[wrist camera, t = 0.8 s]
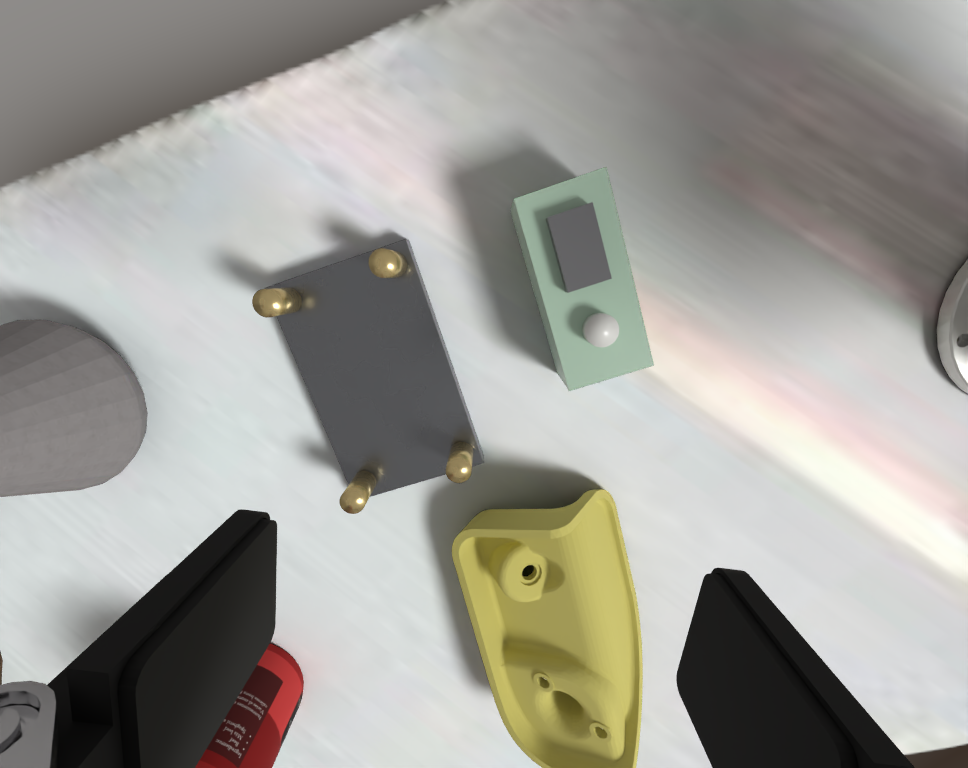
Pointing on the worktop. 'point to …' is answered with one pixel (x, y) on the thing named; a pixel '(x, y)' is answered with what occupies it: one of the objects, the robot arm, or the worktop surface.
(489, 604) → the plastic component
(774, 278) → the worktop surface
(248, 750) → the canned food
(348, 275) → the chassis
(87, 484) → the coffee pot
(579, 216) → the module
